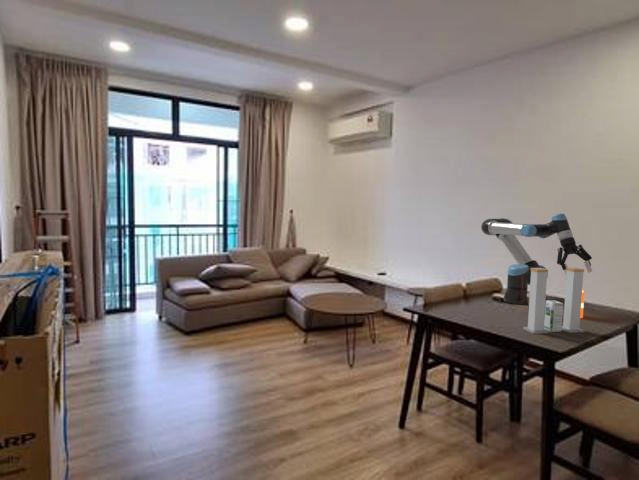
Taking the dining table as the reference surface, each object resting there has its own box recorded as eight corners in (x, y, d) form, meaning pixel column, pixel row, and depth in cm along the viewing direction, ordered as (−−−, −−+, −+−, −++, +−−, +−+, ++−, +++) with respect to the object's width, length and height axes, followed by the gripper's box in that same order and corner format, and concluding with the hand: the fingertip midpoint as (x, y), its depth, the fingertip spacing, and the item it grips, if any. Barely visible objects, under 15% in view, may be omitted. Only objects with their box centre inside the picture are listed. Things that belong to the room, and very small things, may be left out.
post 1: (532, 333, 203) (536, 270, 200) (523, 328, 211) (526, 267, 208) (548, 333, 204) (552, 270, 201) (537, 328, 211) (541, 267, 208)
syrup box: (543, 328, 211) (545, 300, 210) (554, 328, 212) (556, 300, 210) (550, 332, 205) (552, 303, 204) (561, 331, 206) (563, 302, 205)
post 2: (569, 332, 205) (573, 269, 202) (558, 327, 213) (562, 267, 210) (584, 332, 206) (588, 269, 203) (572, 327, 214) (576, 267, 211)
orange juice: (581, 314, 238) (584, 280, 236) (582, 318, 230) (585, 282, 228) (565, 313, 241) (568, 278, 239) (566, 316, 233) (568, 281, 232)
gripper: (550, 239, 243) (562, 274, 236) (590, 234, 246) (603, 268, 239) (543, 243, 250) (555, 277, 243) (582, 238, 253) (595, 272, 246)
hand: (579, 273), depth 241 cm, fingers open, 13 cm apart
